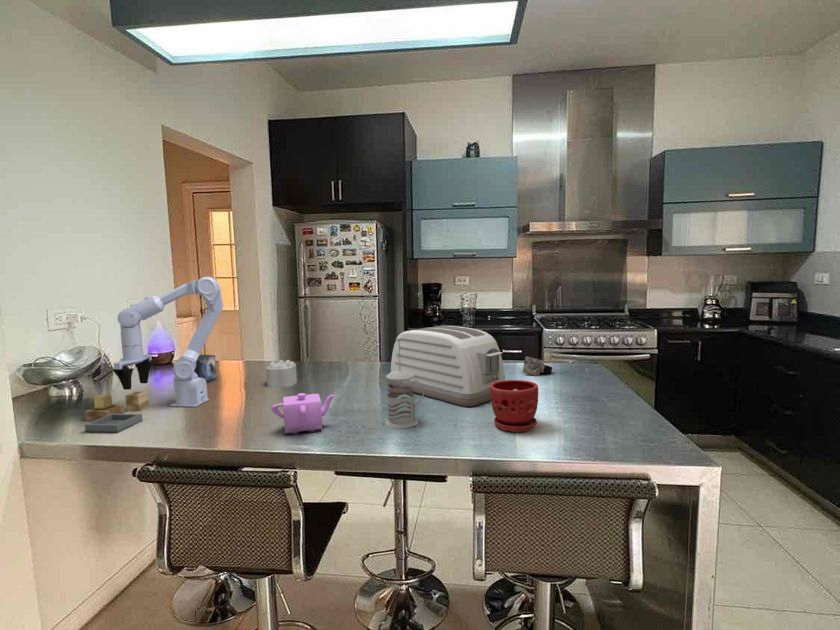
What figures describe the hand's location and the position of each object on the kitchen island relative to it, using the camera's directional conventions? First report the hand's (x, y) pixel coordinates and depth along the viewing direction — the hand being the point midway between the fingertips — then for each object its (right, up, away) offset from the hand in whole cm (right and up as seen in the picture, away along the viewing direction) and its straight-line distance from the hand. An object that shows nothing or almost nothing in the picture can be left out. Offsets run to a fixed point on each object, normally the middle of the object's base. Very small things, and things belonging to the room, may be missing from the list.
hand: (135, 386), depth 152 cm
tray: (+3, -10, -15) cm, 19 cm away
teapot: (+61, -9, -21) cm, 65 cm away
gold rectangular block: (-6, -9, -6) cm, 12 cm away
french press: (+89, -8, -18) cm, 91 cm away
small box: (+5, -4, +35) cm, 36 cm away
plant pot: (+119, -8, -23) cm, 122 cm away
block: (0, -8, +1) cm, 8 cm away
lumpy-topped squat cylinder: (+39, -4, +31) cm, 50 cm away
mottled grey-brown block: (+141, -1, +37) cm, 146 cm away
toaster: (+103, -4, +15) cm, 104 cm away
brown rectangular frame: (-6, -9, -6) cm, 12 cm away
